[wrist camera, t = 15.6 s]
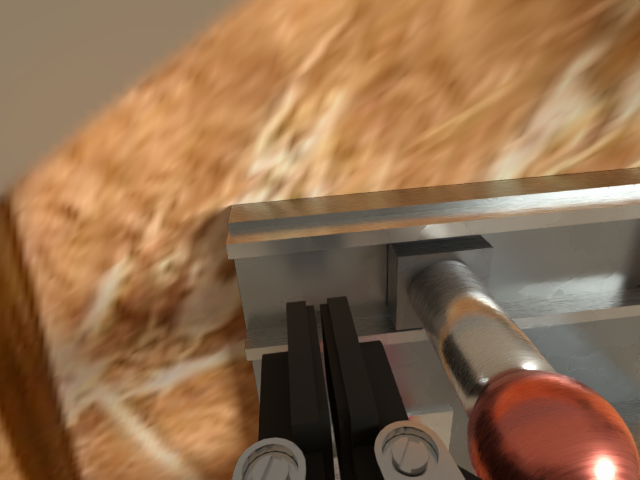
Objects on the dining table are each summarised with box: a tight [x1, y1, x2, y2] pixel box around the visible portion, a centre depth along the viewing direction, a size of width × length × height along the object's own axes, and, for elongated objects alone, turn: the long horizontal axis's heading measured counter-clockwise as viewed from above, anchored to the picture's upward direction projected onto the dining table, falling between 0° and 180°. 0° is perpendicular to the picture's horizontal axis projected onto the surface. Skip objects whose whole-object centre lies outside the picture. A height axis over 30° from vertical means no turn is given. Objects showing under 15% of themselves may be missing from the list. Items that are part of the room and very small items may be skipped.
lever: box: [387, 234, 640, 480], centre depth 11 cm, size 3×3×8 cm
